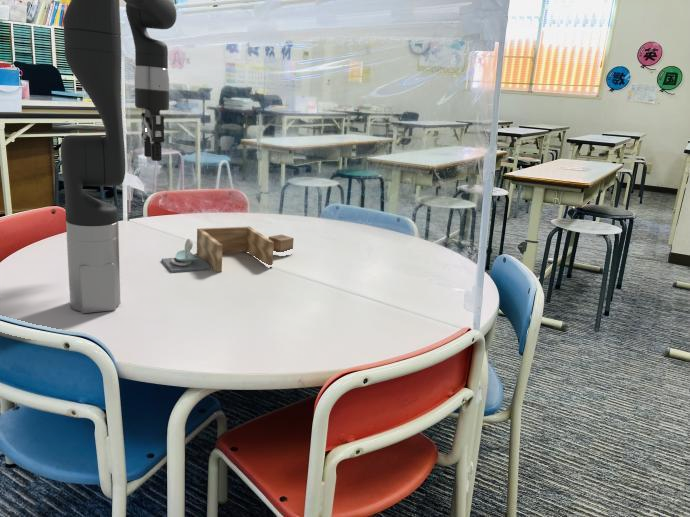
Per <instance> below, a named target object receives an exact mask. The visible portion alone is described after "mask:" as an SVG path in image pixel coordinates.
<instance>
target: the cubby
mask: <svg viewBox="0 0 690 517" xmlns="http://www.w3.org/2000/svg"><path fill="white" fill-rule="evenodd" d="M196 229H197V230H196V254H197V256H200V257H201V258H203V259H204V260H205V261H206V262H207V263H208V264H209V265H210V266H211V267H212V270H214V269H215V270H216V271H217V272H216V271H215V270H214V271H215V272H216V273H222V270H223V254H227V253H242V251H247V252H249V253H250V254H251V255H253V256H255V257H256V258H258V259H259V260H261V261H262V262H264V263H266V264H268V265H272V264H274V255H273V250H274V242H273V241H271V240H270V239H269V237H268V236H265V235H263V234H262V233H260V232H259V231H257V230H255V229H254V228H252V227H251V226H237V227H236V226H233V227H230V226H229V227H228V226H227V227H207V228H206V227H205V228H196ZM247 252H246V253H247ZM249 253H248V254H249ZM250 254H249V255H250ZM251 255H250V256H251ZM253 256H252V257H253Z"/></svg>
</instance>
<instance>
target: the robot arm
mask: <svg viewBox="0 0 690 517" xmlns="http://www.w3.org/2000/svg"><path fill="white" fill-rule="evenodd" d="M123 1H124V3H126V4H125V13H126V18H127V21H128V24H129V27H130V30H131V34H132V40H133V43H134V49H135V50H134V55H135V59H134V60H135V61H134V62H135V63H134V64H135V67H134V68H135V69H134V107H135V108H137V109H143V110H144V112H141V115H140V116H141V135H140V136H141V137H142V140H143V142H144V143H143V145H144V146H143V148H144V151H143V152H144V154H143V155H144V157H146V158H150V159H151V160H152V161H154V162H161V161H162V157H163V156H162V145H163V143H165V117H164V115H161V111H169V109H170V77H169V66H168V65H169V61H168V60H169V58H168V57H169V55H168V54H169V52H168V45H167V44H166V43H165V42H164V41H162V40H158V39H155V38H152V37H150V35H149V33H148V30H147V29H154V30H168V29H172V27H173V26H175V23H176V21H177V16H178V15H177V9H176V6H175V4H174V2H173V0H123ZM120 7H121V6H120V0H70V2H69V4H68V6H67V7H66V11H65V13H64V16H63V43H64V44H63V45H64V57H65V61H66V63H67V65H68V67H69V69H70V70H71V72H72V73H73V75H74V77H75V79H76V80H77V82H78V83H79V84H80V86H81V87H82V88H83V90H84V91H85V92H86V94H87V96H88V97H89V98H90V100H91V101H92V103H93V105H94V107H95V109H96V111H97V112H98V115H99V118H100V119H101V121H102V124H103V126H104V131H105V132H104V133H105V135H104V136H99V135H98V136H95V135H94V136H93V135H74V134H73V135H71V134H69V135H66V136H64V137H63V139H62V141H61V144H60V160H61V161H60V162H61V168H62V170H61V171H62V172H61V173H62V178H63V186H64V188H63V189H64V202H65V227H66V248H67V250H66V251H67V269H68V287H69V305H70V307H71V309H73V310H75V311H78V312H80V313H81V314H90V313H91V314H92V313H97V312H98V313H99V312H107V311H108V312H109V311H116V310H117V307H119V306H120V304H121V280H120V278H121V276H120V273H121V272H120V270H121V268H120V266H121V265H120V231H119V228H120V226H119V224H120V223H119V209H118V208H117V206H116V205H114V204H113V203H110V202H107V201H103V200H100V199H98V198H96V197H93V196H91V195H90V194H88V193H87V192H86V191H85V190H84V189H83V187H88V186H89V187H119V186H121V185H122V184H123V183H124V180H125V177H126V150H125V149H126V148H125V137H124V136H125V135H124V127H123V126H124V124H123V113H122V37H121V36H122V30H121V14H120V13H121V9H120Z"/></svg>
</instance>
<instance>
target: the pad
mask: <svg viewBox="0 0 690 517" xmlns="http://www.w3.org/2000/svg"><path fill="white" fill-rule="evenodd" d="M173 258H174V257H167V258H166V257H165V258H161V262H162V263H163V265H165V267H166V268H167V269H168V271H170V273H171V274H172V273H184V272H183V271H186V272H194V271H193V270H198V271H203V270H202V269H211V270H213V268H212V267H211V266H210V265H209V264H208V263H207V262H206V261H205V260H204V259H203V258H201V257H200V256H199V255H197V256H196V255H195V256H194V257H193V258H198V260H195V261H192V263H191V264H189V265H185V266H179V265H175V264H173V263H172V262H171V260H172V259H173ZM176 262H178V263H181V261H179V260H176Z"/></svg>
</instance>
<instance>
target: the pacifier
mask: <svg viewBox="0 0 690 517" xmlns="http://www.w3.org/2000/svg"><path fill="white" fill-rule="evenodd" d="M193 245H194V244H193V241H192V240H191V239H190V238H187V239H186V240H185V243H184V249H181V250H179V251H177V253H176V254H175V256H174V257H172V258H173V259H172V260H171V262H172V263H173V264H175V265H179V266H185V265H189V264H191V263H192V261H195V260H198V258H193V257H195V256H194V254H193V253H192V252H191V250H192V248H193ZM176 260H179V261H181V263H178V262H176Z"/></svg>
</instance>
